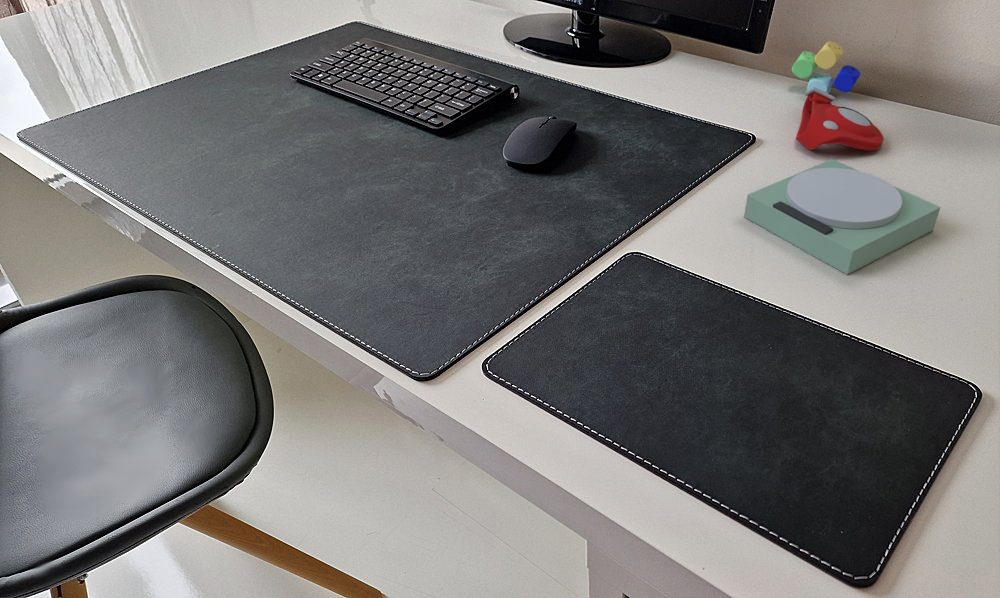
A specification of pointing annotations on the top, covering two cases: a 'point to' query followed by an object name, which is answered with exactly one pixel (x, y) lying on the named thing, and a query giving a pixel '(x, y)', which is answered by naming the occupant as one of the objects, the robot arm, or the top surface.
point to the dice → (825, 61)
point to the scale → (841, 214)
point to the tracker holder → (835, 124)
